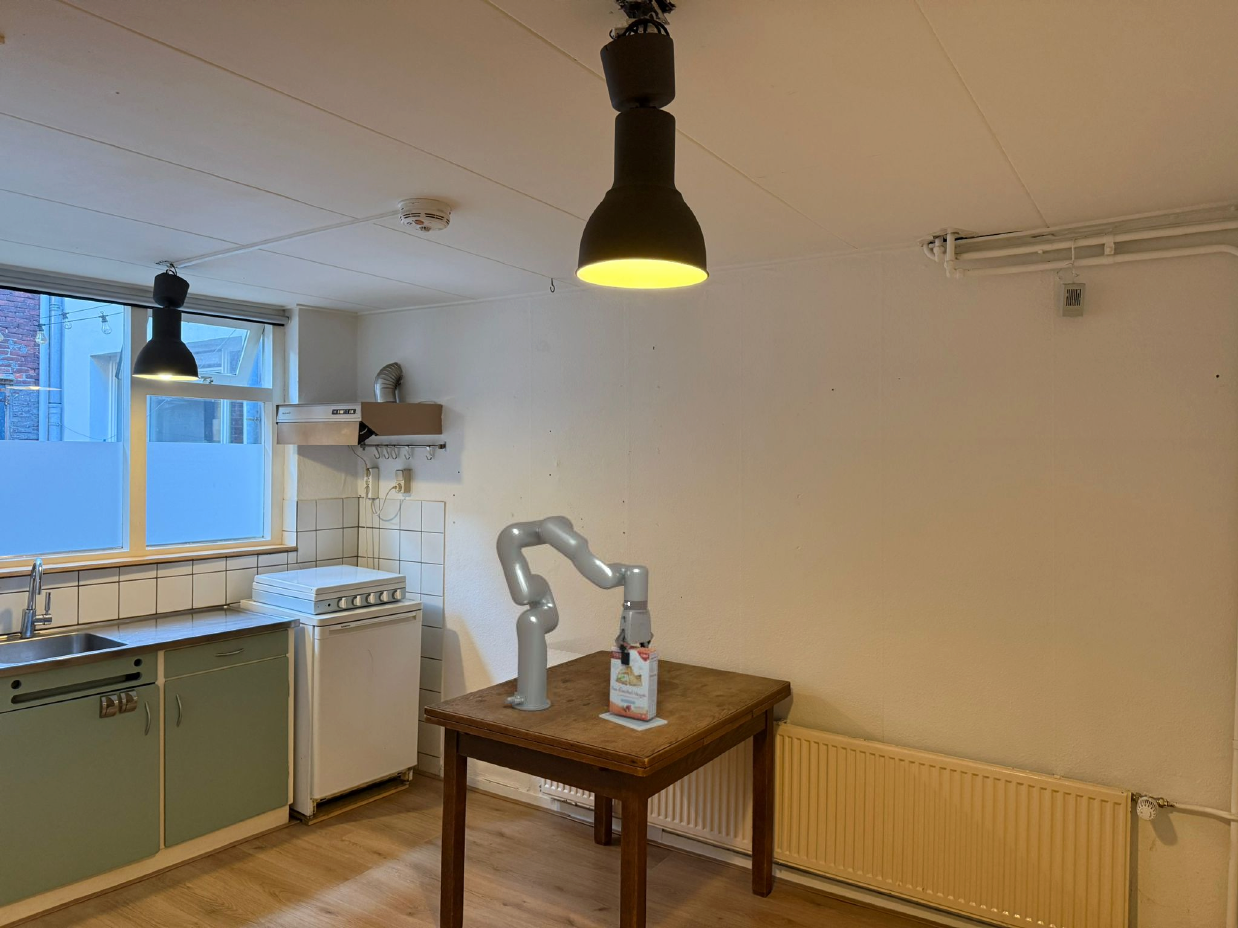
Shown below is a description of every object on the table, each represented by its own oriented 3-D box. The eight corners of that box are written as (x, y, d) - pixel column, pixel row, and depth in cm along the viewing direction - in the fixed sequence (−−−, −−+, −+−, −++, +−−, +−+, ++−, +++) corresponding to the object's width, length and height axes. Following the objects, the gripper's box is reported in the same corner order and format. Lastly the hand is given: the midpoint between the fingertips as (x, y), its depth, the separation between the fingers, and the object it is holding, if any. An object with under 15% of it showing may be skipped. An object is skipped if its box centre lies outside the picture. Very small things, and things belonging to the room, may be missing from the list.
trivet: (639, 730, 246) (639, 728, 246) (599, 716, 259) (599, 714, 259) (667, 722, 254) (667, 720, 254) (626, 709, 267) (626, 707, 267)
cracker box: (608, 712, 258) (610, 645, 258) (618, 708, 263) (620, 642, 263) (647, 721, 250) (649, 652, 250) (656, 716, 255) (658, 648, 255)
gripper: (623, 609, 248) (622, 669, 248) (663, 604, 260) (661, 661, 260) (606, 606, 253) (605, 664, 253) (646, 601, 265) (644, 656, 265)
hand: (633, 662), depth 256 cm, fingers closed on cracker box, 6 cm apart
